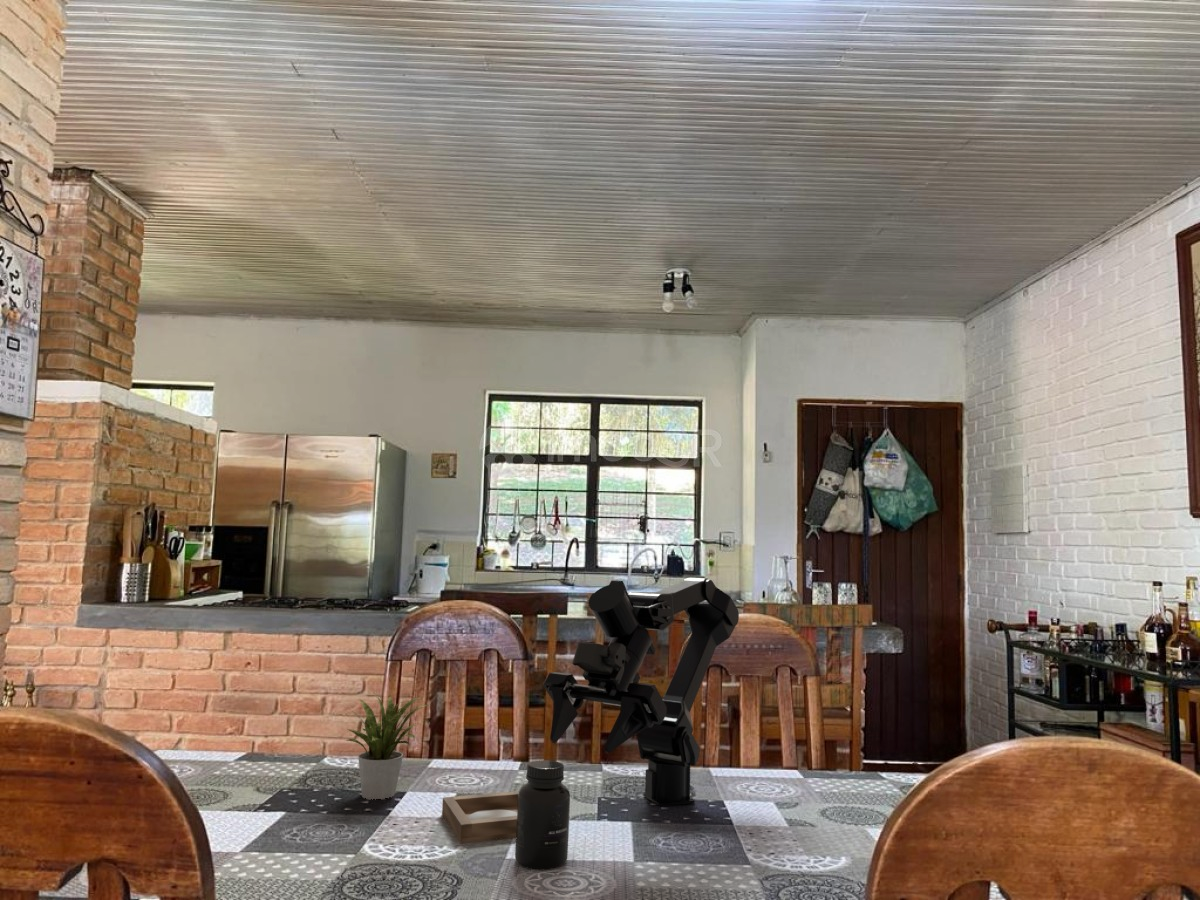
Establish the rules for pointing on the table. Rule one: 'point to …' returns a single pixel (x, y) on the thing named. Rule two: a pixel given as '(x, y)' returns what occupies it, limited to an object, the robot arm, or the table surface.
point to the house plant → (382, 750)
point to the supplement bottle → (543, 817)
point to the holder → (482, 816)
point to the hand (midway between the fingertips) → (578, 746)
